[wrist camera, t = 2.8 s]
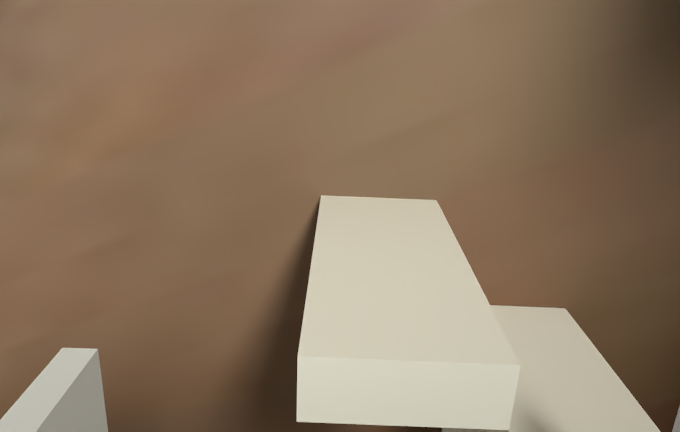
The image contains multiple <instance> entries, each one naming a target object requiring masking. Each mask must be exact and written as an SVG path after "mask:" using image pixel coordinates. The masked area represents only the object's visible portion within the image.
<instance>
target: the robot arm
mask: <svg viewBox="0 0 680 432" xmlns="http://www.w3.org/2000/svg"><path fill="white" fill-rule="evenodd" d="M0 432H108V427H107V419H106V411H105V403H104V395H103V387H102V378H101V370H100V362H99V354H98V349H85V348H62V349H61V350H60V351H59V352H58V354H57V355H56V356H55V357H54V358H53V359H52V361H51V362H50V363H49V364H48V365H47V366H46V368H45V369H44V370H43V371H42V372H41V373H40V375H39V376H38V377H37V378H36V379H35V380H34V381H33V383H32V384H31V385H30V386H29V387H28V388H27V390H26V391H25V392H24V393H23V394H22V395H21V397H20V398H19V399H18V400H17V401H16V402H15V403H14V405H13V406H12V407H11V408H10V409H9V410H8V412H7V413H6V414H5V415H4V416H3V417H2V419H1V420H0ZM672 432H680V406H679V410H678V413H677V416H676V420H675V423H674V426H673V430H672Z"/></svg>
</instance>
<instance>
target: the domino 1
mask: <svg viewBox="0 0 680 432" xmlns="http://www.w3.org/2000/svg"><path fill="white" fill-rule="evenodd" d="M520 366H521V365H520V363H519V361H518V359H517V357H516V355H515V353H514V351H513V349H512V347H511V345H510V343H509V342H508V340H507V338H506V336H505V334H504V332H503V330H502V328H501V326H500V324H499V322H498V320H497V318H496V316H495V314H494V312H493V310H492V308H491V306H490V304H489V302H488V300H487V298H486V296H485V294H484V293H483V291H482V289H481V287H480V285H479V283H478V281H477V279H476V277H475V275H474V273H473V271H472V269H471V267H470V265H469V263H468V261H467V259H466V257H465V255H464V253H463V251H462V249H461V247H460V246H459V244H458V242H457V240H456V238H455V236H454V234H453V232H452V230H451V228H450V226H449V224H448V222H447V220H446V218H445V216H444V214H443V212H442V210H441V208H440V206H439V204H438V202H437V200H420V199H396V198H372V197H348V196H323V195H321V199H320V206H319V212H318V219H317V226H316V233H315V240H314V247H313V254H312V260H311V267H310V274H309V281H308V288H307V295H306V302H305V308H304V315H303V322H302V329H301V336H300V343H299V350H298V357H297V420H296V422H315V423H340V424H365V425H391V426H416V427H441V428H466V429H491V430H509V427H510V422H511V416H512V411H513V405H514V400H515V394H516V388H517V383H518V377H519V372H520Z"/></svg>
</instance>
